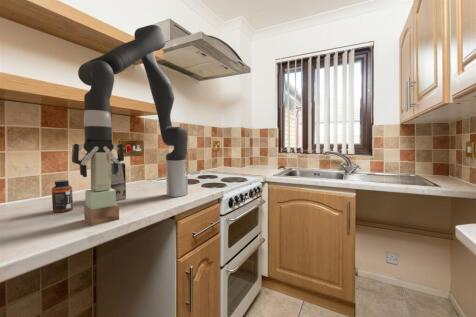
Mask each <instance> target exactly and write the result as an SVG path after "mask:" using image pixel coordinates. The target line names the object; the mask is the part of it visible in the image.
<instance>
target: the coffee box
mask: <svg viewBox="0 0 476 317" xmlns="http://www.w3.org/2000/svg"><path fill="white" fill-rule="evenodd" d="M112 163H113V162H112ZM112 163H111V162H110V170H111V189H114V190H116V201H122V200H126V199H127V189H126V188H127V184H126V183H127V182H126V181H127V180H126V179H127V178H126V177H127V176H126V163H125V162H119V163H118V172H117V174H112Z"/></svg>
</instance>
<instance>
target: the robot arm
mask: <svg viewBox="0 0 476 317" xmlns="http://www.w3.org/2000/svg"><path fill="white" fill-rule="evenodd" d="M133 35H134V37H133V38H134V39H132V40H130V41H128V42H125V43H121V44H120V45H117V46H115V47H113V48H112V49H110V50H108V51H107V52H105V53H104V54H102V55H100V56H98V57H96V58H93V59H91V60H88V61H87V62H84V63H83V64H81V65H80V66H79V68H78V71H77V75H78V78H79V80H80V82H82V83H83V84H84V85H87V86H90V89H89V90H88V92H87V91H86V93H85V94H84V95H83V96H84V97H83V104H84V109H83V110H84V112H83V113H84V115H83V127H84V130H83V132H84V143H83V144H82V143H79V144H78V143H73V144H71V145H72V148H71V149H72V150H71V162H72V163H73V164H77V165H79V174H80V176H82V177H83V178H87V177H88V171H87V170H88V169H87V168H88V167H87V165H86V164H87V163H88V162H89V160H91V157H94V154H95V153H110V162H112V174H117V172H118V163H122V162H123V161H124V160H125V158H124V157H125V156H124V145H123V144H122V143H117V144H116V143H115V144H114V143H113V133H112V132H113V129H112V128H113V123H112V116H111V104H110V103H111V101H110V100H111V96H112V92H113V89H114V84H115V75H117V74H120V73H122V72H123V71H125V70H126V69H128V68H129V67H131V66H132V65H133V64H135V63H136V62H138V61H139V60H141V62H142V64H143V67H144V70H145V74H146V77H147V81H148V84H149V89H150V92H151V96H152V99H153V103H154V107H155V110H156V115H157V118H158V125H159V131H160V135H161V136H160V137H161V139H162V142H163V143H164V145H166V146H169V147H173V149H172V151H171V152H168V153H167V154H165V166H166V167H165V171H166V172H165V174H166V175H165V176H166V177H165V179H166V182H165V183H166V197H170V198H171V197H172V198H174V197H175V198H177V197H179V198H180V197H183V196H185V195H188V194H189V190H188V189H189V187H188V185H189V183H188V180H189V179H188V178H189V177H188V175H187V168H186V167H187V166H186V165H187V164H186V163H187V161H186V159H187V158H186V157H187V153H188V132H187V129H186V128H185V127H183V126H173V124H172V120H171V114H172V110H173V106H174V101H175V96H174V90H173V86H172V82H171V81H170V79H169V78H168V76H167V75H166V73H164V71H163V70H162V69H161V67H160V66H159V64H158V62H157V59H156V55H155V52H156V51H160V50H162V49H164V48H165V46H166V42H167V38H166V34H165V32H164V30H163V29H162V28H161V27H160V26H158V25H156V24H150V25H145V26H141V27H137V29H135V31H134V34H133ZM82 149H83V150H85V151H86V153H84V155H83V157H82V158H81V159H80V158H79V156H80V152H81V151H82ZM113 149H114V150H115V151H116V155H117V157H116V156H115V154H114V153H113V152H112V150H113Z"/></svg>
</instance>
